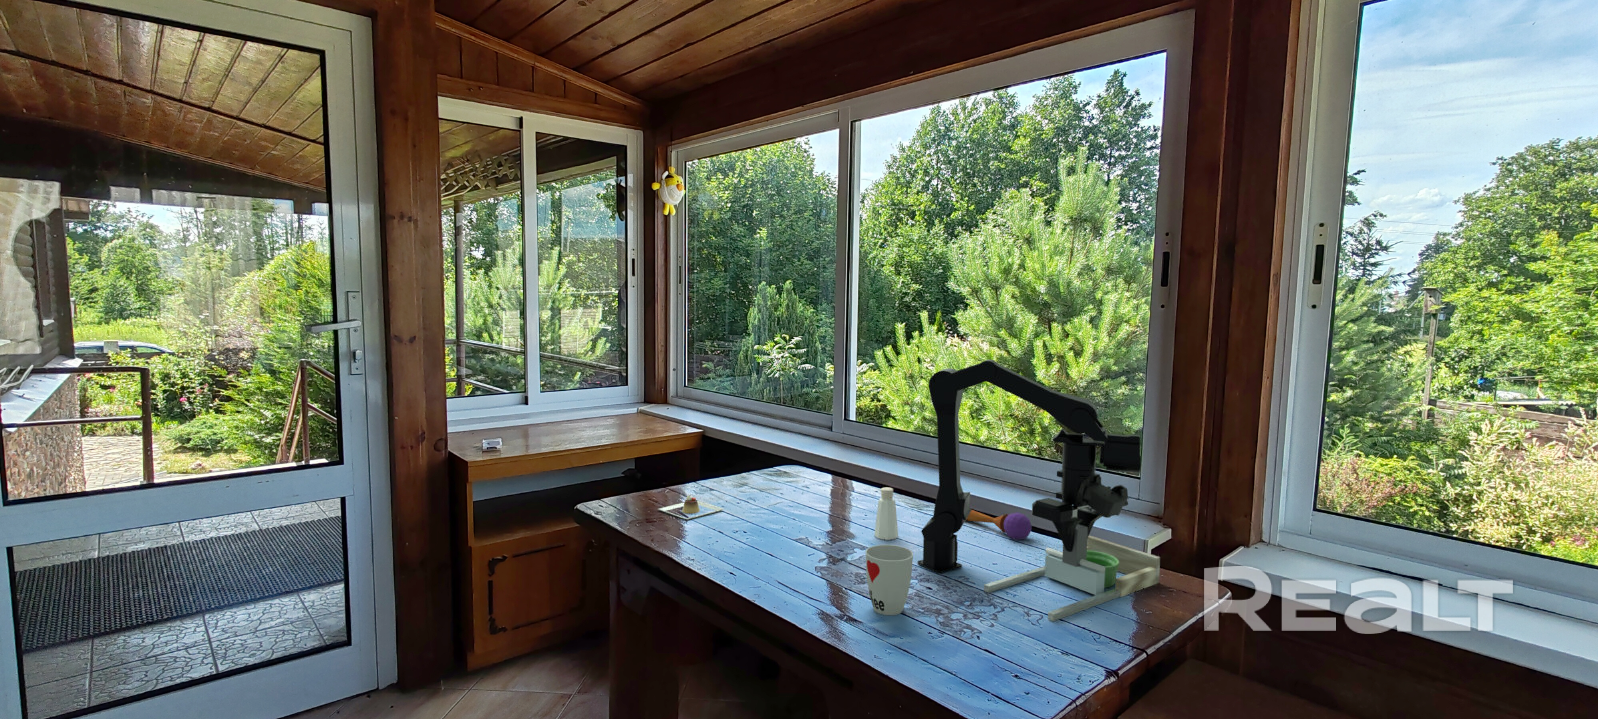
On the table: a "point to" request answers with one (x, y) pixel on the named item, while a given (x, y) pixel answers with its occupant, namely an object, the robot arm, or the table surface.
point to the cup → (888, 577)
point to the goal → (1139, 576)
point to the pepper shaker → (886, 516)
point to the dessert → (691, 507)
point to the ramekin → (1105, 565)
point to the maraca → (1006, 523)
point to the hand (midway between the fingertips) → (1074, 549)
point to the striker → (1075, 565)
